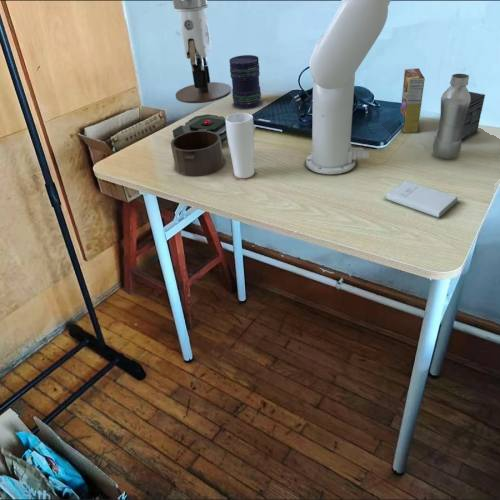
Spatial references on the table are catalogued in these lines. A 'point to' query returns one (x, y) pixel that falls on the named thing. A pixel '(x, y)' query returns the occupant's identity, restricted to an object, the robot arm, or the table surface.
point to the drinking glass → (241, 143)
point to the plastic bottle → (452, 117)
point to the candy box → (412, 99)
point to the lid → (203, 93)
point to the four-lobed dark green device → (204, 126)
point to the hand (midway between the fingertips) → (202, 84)
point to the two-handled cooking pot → (197, 152)
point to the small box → (472, 115)
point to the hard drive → (422, 198)
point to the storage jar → (245, 81)
